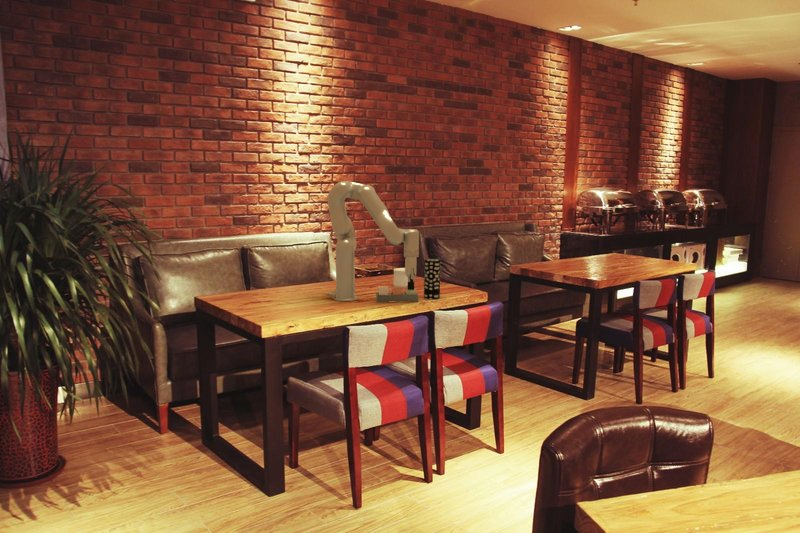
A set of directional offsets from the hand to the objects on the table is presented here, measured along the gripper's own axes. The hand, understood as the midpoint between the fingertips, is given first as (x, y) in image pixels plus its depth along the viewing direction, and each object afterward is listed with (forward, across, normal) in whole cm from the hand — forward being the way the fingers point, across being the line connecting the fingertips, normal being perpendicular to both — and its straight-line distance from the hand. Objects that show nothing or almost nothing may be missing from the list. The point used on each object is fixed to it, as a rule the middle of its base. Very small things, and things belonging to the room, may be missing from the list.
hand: (410, 289), depth 329 cm
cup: (+6, -40, 0) cm, 40 cm away
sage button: (+5, 0, 0) cm, 5 cm away
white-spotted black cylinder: (+6, -6, +12) cm, 15 cm away
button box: (+6, 0, -7) cm, 9 cm away
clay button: (+4, 0, -7) cm, 8 cm away
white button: (+4, 0, -14) cm, 15 cm away
